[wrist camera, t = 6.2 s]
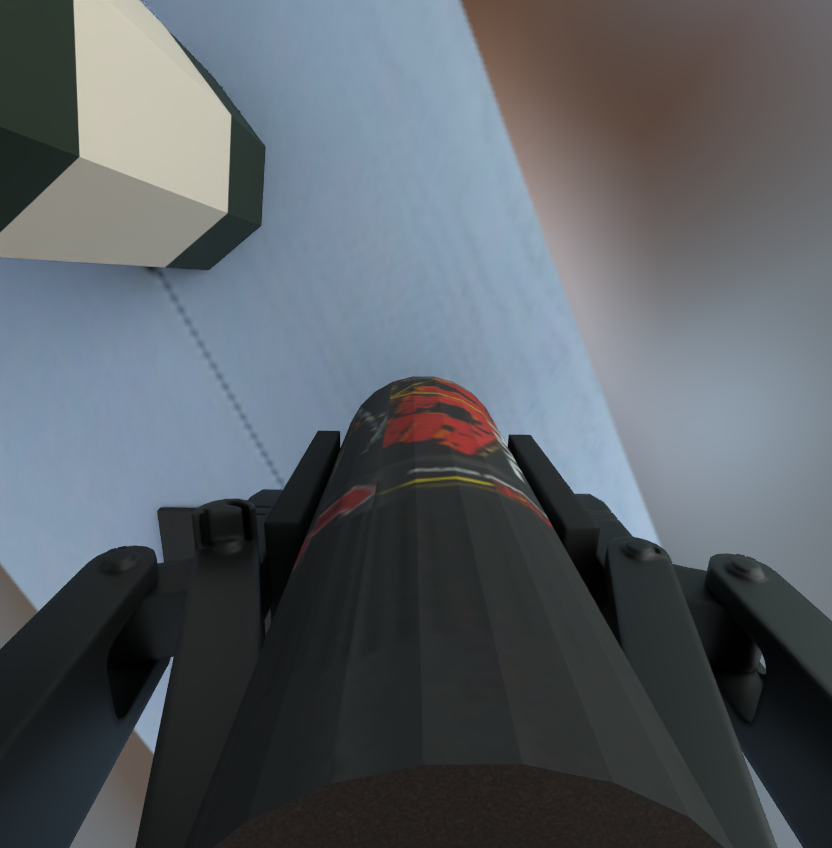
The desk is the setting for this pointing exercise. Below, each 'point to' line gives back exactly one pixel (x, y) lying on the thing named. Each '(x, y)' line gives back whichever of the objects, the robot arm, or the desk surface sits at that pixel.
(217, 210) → the wine bottle
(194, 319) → the desk surface
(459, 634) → the deodorant
